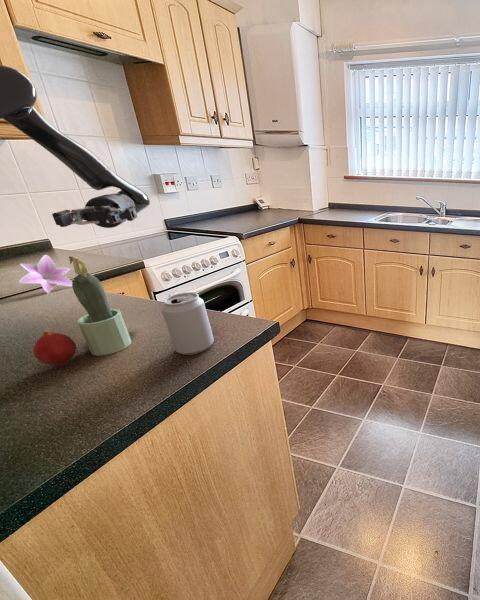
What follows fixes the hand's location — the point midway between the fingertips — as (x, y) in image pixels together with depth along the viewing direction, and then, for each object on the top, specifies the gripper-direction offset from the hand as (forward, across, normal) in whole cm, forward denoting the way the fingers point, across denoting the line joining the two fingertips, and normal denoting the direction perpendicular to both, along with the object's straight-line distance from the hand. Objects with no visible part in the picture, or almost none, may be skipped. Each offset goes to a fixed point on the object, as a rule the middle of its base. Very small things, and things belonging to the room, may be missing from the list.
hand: (85, 220), depth 73 cm
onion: (+15, -7, +26) cm, 31 cm away
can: (+19, +17, +26) cm, 36 cm away
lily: (-39, -28, +26) cm, 55 cm away
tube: (+11, 0, +26) cm, 28 cm away
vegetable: (+11, 0, +25) cm, 28 cm away
